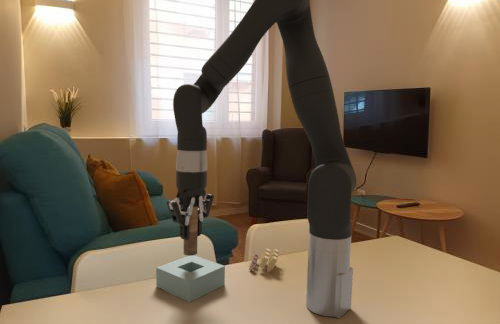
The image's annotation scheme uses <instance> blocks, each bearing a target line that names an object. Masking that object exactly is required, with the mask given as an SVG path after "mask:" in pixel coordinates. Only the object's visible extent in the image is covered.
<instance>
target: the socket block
mask: <svg viewBox="0 0 500 324" xmlns="http://www.w3.org/2000/svg"><path fill="white" fill-rule="evenodd" d="M155 269H156V272H155V276H156V278H155V279H156V280H155V281H156V286H157V287H156V288H158V287H159V289H160V288H161V290H162V289H163V290H162V291H165V292H167V293H169V294H171V295H173V296H175V297H177V298H179V299H182V300H184V301H186V302H188V303H191V302H192V301H194V300H197V299H199V298H201V297H203V296H205V295H207V294H209V293H211V292H213V291H215V290H217V289H219V288H222V287H224V286H225V284H226V283H225V282H226V281H225V280H226V279H225V277H226V276H225V274H226V266H225V265H223V264H221V263H217V262H215V261H212V260H208V259H206V258H204V257H200V256H197V255H192V256H188V255H186V256H184V257H182V258H179V259H176V260H174V261H171V262H168V263H165V264H162V265H160V266H159V265H158V266H157V267H156V268H155Z"/></svg>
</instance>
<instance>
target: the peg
mask: <svg viewBox="0 0 500 324" xmlns="http://www.w3.org/2000/svg"><path fill="white" fill-rule="evenodd" d="M184 211H185V212H187V210H184ZM184 219H185V215H184ZM188 225H189V239H188V240H184V239H183V255H184V256H192V255H195V256H197V255H198V237H199V236H198V206H196V207H193V210H192V215H191V216H190V219H189V224H188Z"/></svg>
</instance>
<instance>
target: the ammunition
mask: <svg viewBox="0 0 500 324" xmlns="http://www.w3.org/2000/svg"><path fill="white" fill-rule="evenodd" d="M279 253H280V250H278V249H277V248H274V249H273V251H272V250H271V249H270V248H267V247H266V248H265V250H264V251H263V253H262V255H261V256H260V257H259V255H258V254H256V253H253V256H252V258H251V261H250V263H249V264H250V265H249V270H250V271H249V272H252V271H253V270H254V269H256V266H257V262H258V261H259V260H258V259H259V258H260V261H259V263H258V267H259V268H261V269H265V267H266V265H267V267H266V272H267V273H270V272H271V271H273V269H274V267H275V265H276V263H277V261H278V260H279ZM251 270H252V271H251Z"/></svg>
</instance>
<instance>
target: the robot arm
mask: <svg viewBox="0 0 500 324" xmlns="http://www.w3.org/2000/svg"><path fill="white" fill-rule="evenodd" d="M310 1H311V0H254V1H253V3H252V4H251V6H249V8H248V10H247V11H246V13H245V14H244V16H243V17H242V18H241V20H240V21H239V23H238V24H237V25H236V27H235V28H234V29H233V31H231V33H230V35H228V37H227V38H226V39H225V40H224V42H222V44H221V45H220V46H219V47H218V48H217V49H216V50H215V52H213V54H212V55H211V56H210V57H209V58H208V59H207V61H205V63H204V64H203V66H202V67H201V70H200V72H201V74H200V76H199V77H198V78H197V80H196V81H195V82H194V83H193V84H192V83H184V84H182V85H180V86H178V87H177V89H176V90H175V92H174V94H173V100H172V106H173V107H172V110H173V114H174V115H173V116H174V120H175V121H174V122H175V126H176V130H177V135H176V136H177V139H176V140H177V144H176V146H177V147H176V148H177V149H176V152H177V153H176V156H175V157H176V158H175V186H176V189H177V194H176V195H175V198H174V199H173V200H167V202H166V205H167V209H168V212H169V214H170V217H171V221H172V222H173V223H176V224H179V237H180V239H182V240H183V241H184V240H188V239H189V225H188V224H189V219H190V216H191V215H192V210H193V207H196V206H198V237H200V236H201V235H202V230H203V227H202V226H203V225H202V224H203V221H204V219H205V218H207V219H208V217H209V216H210V211H211V208H212V204H213V201H214V197H215V196H214V194H210V193H207V192H206V188H207V187H208V153H207V147H208V143H207V142H208V140H207V139H208V136H207V135H208V133H207V129H206V127H204V125H203V114H204V113H206V112H207V111H208V110H209V109H210V108H211V107H212V106H213V104H214V103H215V102H216V100H217V99H218V98H219V96H220V95H221V93H222V92H223V90H224V88H225V87H226V86H227V85H228V84H229V83H230V82H231V81H232V80H233V79H234V78H235V77H236V76H237V75H238V74H239V73H240V71H242V69H243V68H244V67H245V66H246V64H247V63H248V61H249V59H250V58H251V57H252V56H253V55H252V54H253V53H254V51H255V50H256V47H258V45H259V43H260V41H261V40H262V39H263V37H264V36H265V35H266V33H268V32H269V30H270V29H271V28H272V27H273V26H274V25H275V24H277V28H278V31H279V34H280V37H281V39H282V42H283V43H282V44H283V48H284V56H285V57H284V59H285V75H286V80H287V81H286V82H287V86H288V89H289V93H290V99H291V103H292V105H293V108H294V112H295V114H296V116H297V119H298V120H299V122H300V124H301V127H302V129H303V130H304V132H305V134H306V136H307V138H308V140H309V143H310V146H311V150H312V155H313V159H314V164H315V168H314V169H313V170H312V171H311V173H310V175H309V178H308V184H307V215H306V216H307V220H308V221H307V222H308V224H309V225H308V230H309V231H308V235H309V236H308V251H307V271H306V272H307V275H306V295H305V296H306V297H305V299H306V300H305V301H306V302H305V304H306V307H307V309H308V310H309V311H310V312H312V313H314V314H316V315H319V316H324V317H333V318H334V317H335V318H338V319H341V318H342V317H343V316H344V315H345V314H346V313H347V312H348V311H349V310H350V309H351V308H352V294H353V293H352V292H353V276H354V268H353V267H352V266H351V249H352V235H353V234H352V233H353V224H352V221H351V213H352V211H351V210H352V208H351V207H352V194H354V192H355V189H356V186H357V175H356V173H355V169H354V167H353V164H352V162H351V159H350V157H349V154H348V151H347V148H346V146H345V142H344V139H343V135H342V131H341V124H340V118H339V113H338V109H337V104H336V98H335V94H334V89H333V86H332V85H333V84H332V81H331V78H330V74H329V70H328V67H327V65H326V64H327V63H326V62H325V61H326V60H325V59H324V56H323V54H322V51H321V49H320V46H319V43H318V42H317V39H316V36H315V29H314V25H313V24H314V23H313V19H312V18H313V17H312V11H311V2H310ZM184 210H187V212H185V211H184ZM184 215H185V219H184Z"/></svg>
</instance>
